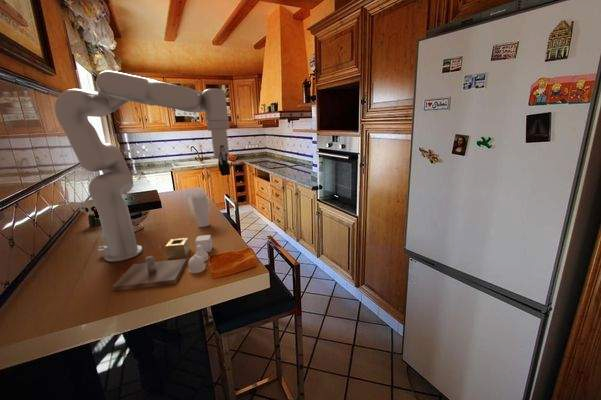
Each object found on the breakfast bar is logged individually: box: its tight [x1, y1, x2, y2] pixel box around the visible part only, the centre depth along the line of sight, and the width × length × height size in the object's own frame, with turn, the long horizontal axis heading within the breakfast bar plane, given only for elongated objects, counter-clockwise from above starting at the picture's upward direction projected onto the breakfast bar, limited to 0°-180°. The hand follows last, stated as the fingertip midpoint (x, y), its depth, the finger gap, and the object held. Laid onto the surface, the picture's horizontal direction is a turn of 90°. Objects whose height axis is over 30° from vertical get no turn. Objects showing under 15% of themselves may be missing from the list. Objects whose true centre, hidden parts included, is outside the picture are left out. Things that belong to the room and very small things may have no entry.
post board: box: [111, 255, 188, 292], centre depth 91 cm, size 18×14×6 cm
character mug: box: [78, 199, 101, 227], centre depth 146 cm, size 11×7×13 cm, turn 107°
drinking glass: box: [191, 193, 210, 228], centre depth 134 cm, size 7×7×15 cm
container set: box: [187, 234, 213, 274], centre depth 101 cm, size 20×5×6 cm, turn 9°
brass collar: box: [165, 237, 191, 260], centre depth 106 cm, size 6×6×5 cm
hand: (224, 173), depth 106 cm, fingers open, 9 cm apart
